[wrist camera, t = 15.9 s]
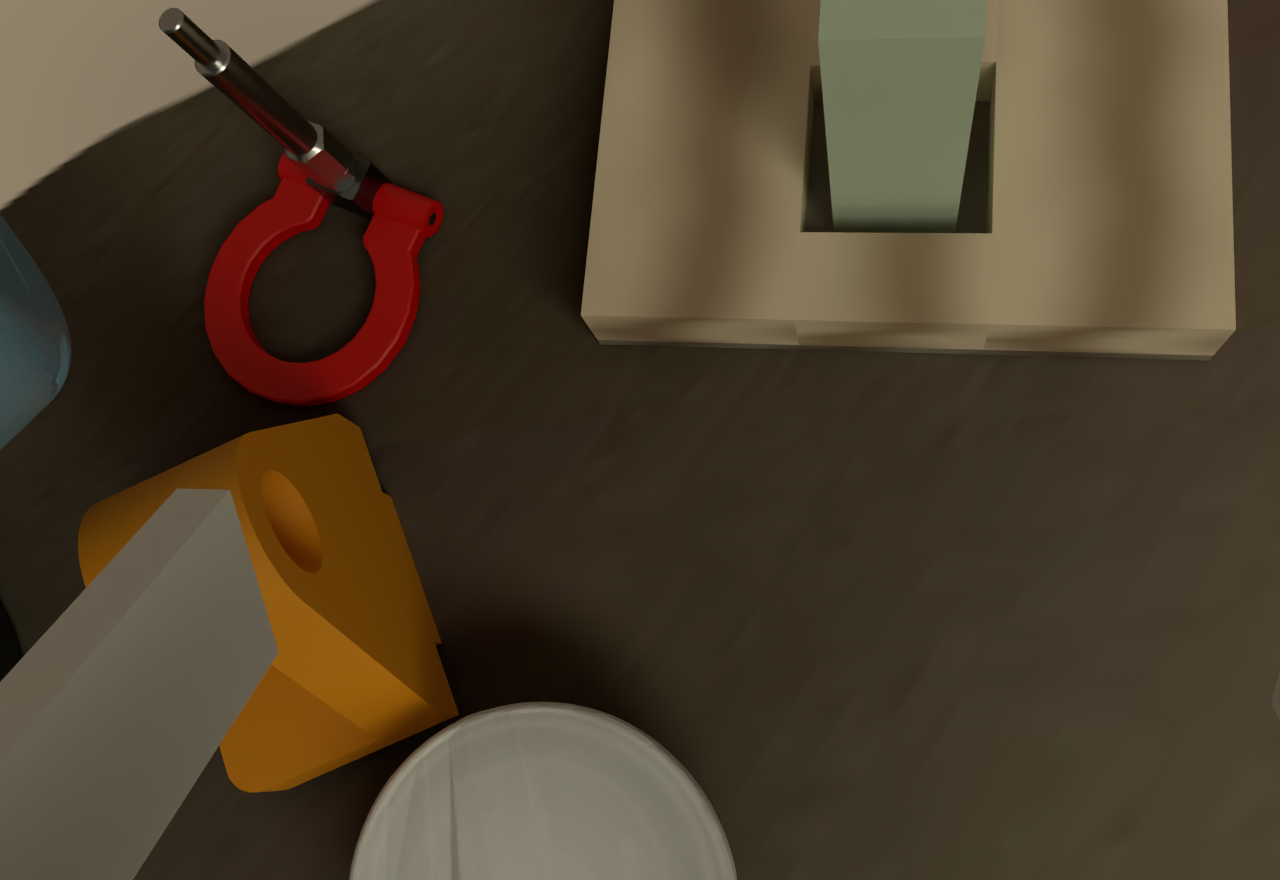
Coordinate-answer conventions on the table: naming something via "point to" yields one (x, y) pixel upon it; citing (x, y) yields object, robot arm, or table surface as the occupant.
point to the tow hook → (306, 190)
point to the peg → (899, 109)
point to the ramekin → (542, 805)
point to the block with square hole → (989, 204)
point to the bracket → (309, 598)
